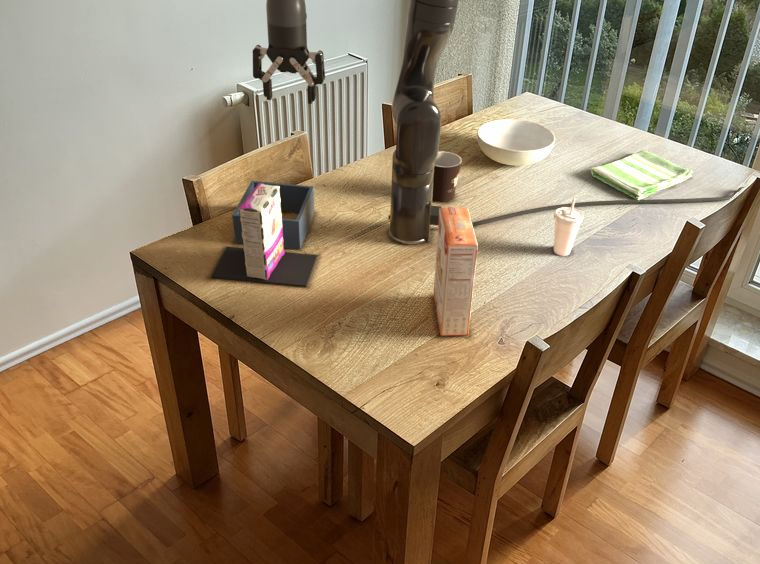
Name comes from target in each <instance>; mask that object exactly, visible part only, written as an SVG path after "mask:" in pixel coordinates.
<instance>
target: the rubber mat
mask: <svg viewBox="0 0 760 564" xmlns="http://www.w3.org/2000/svg"><path fill="white" fill-rule="evenodd" d="M284 252H285V253H284V255H283V256H282V258H281V259H280V261H279V263H278V264H277V266H276V267H275V269H274V270H273V272H272V274H271V275H270V277H269V278H268V280H263V279H257V278H251V277H247V276H246V267H245V258H244V249H243V247H235V246H226V247H225V249H224V251H223V252H222V254H221V256H220V259H219V260H218V262H217V264H216V266H215V267H214V270H213V272H212V274H211V275H210V279H219V280H229V281H240V282H248V283H261V284H269V285H280V286H290V287H299V288H300V287H301V288H307V287H308V284H309V281H310V278H311V275H312V272H313V270H314V266H315V264H316V261H317V258H318V254H310V253H309V254H308V253H299V252H298V253H297V252H289V251H288V252H287V251H284Z"/></svg>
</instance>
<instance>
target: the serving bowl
mask: <svg viewBox="0 0 760 564" xmlns="http://www.w3.org/2000/svg"><path fill="white" fill-rule="evenodd" d="M476 136H477V137H476V138H477V143H478V146H479V148H480V150H481V152H483V154H484V155H486V156H487V158H489V159H491V160H492V161H495V162H496V163H500V164H503V165H507V166H517V167H519V166H528V165H529V166H530V165H533V164H537V163H539V162H540V161H542V160H544V159H546V158H547V157H548V156H549V154H550V153H551V151H552V150H553V147H554V145H555V142H556V137H555V134H554V133H553V131H552V130H550V129H549V128H547V127H545V126H544V125H542V124H540V123H537V122H534V121H529V120H524V119H515V118H502V119H495V120H490V121H488V122H484V123H483V124H482V125H480V126H479V127H478V129H477V131H476Z"/></svg>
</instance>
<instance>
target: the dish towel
mask: <svg viewBox="0 0 760 564" xmlns="http://www.w3.org/2000/svg"><path fill="white" fill-rule="evenodd" d="M590 172H591V176H592V177H594V178H596V179H597V180H599V181H601V182H603V183H605V184H607V185H608V186H610V187H612V188H614V189H616V190H618V191H620V192H622V193H623V194H625V195H627V196H629V197H631V198H632V199H634V200H643V199H645V198H647V197H649V196H651V195H654V194H656V193H657V192H659V191H661V190H663V189H667V188H670V187H673V186H675V185H677V184H679V183H682V182H684V181H686V180H688V179H690V178H691V177H692V174H693V173H694V171H693V170H691V169H689V168H685V167H682V166H679V165H677V164H675V163H674V162H671V161H670V160H668V159H665V158H663V157H661V156H659V155H657V154H655V153H653V152H650V151H648V150H645V149H643V150H640V151H637V152H635V153H633V154H630V155H628V156H625V157H623V158H620V159H618V160H616V161H615V160H614V161H612V162H609V163H605V164H602V165H598V166H595V167H590Z"/></svg>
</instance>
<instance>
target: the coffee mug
mask: <svg viewBox="0 0 760 564" xmlns="http://www.w3.org/2000/svg"><path fill="white" fill-rule="evenodd" d="M462 162H463V158H462V157H461V156H459V155H458V154H456V153H453V152H450V151H444V150H443V151H441V150H439V151H438V156H437V158H436V160H435V167H434V181H433V202H436V203H443V204H444V203H449V202H451V201H453V200H454V199H455V193H456V189H457V184H458V181H459V175H460V171H461V166H462Z"/></svg>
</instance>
